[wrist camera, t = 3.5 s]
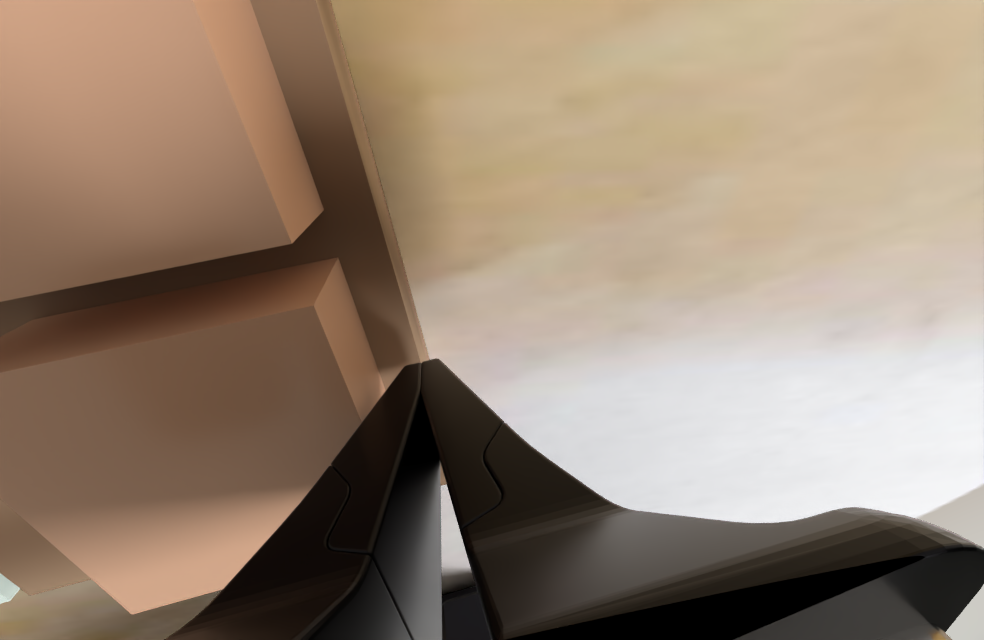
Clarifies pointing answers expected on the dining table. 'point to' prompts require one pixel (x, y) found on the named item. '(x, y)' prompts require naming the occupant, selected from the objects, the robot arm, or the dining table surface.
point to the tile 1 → (140, 141)
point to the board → (334, 233)
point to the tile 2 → (181, 424)
